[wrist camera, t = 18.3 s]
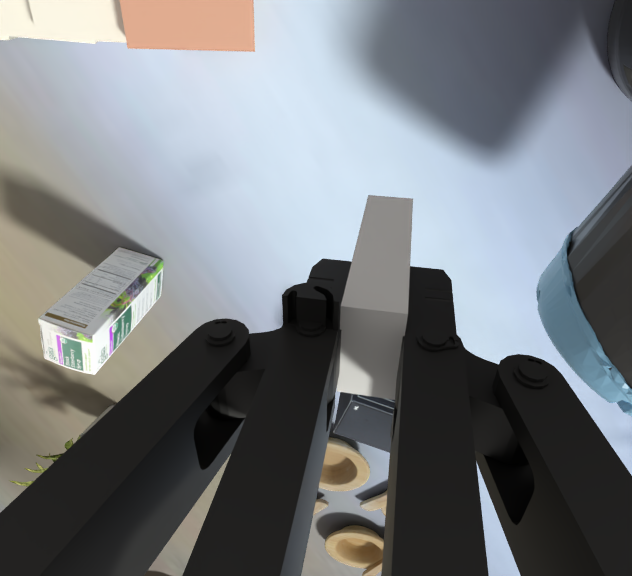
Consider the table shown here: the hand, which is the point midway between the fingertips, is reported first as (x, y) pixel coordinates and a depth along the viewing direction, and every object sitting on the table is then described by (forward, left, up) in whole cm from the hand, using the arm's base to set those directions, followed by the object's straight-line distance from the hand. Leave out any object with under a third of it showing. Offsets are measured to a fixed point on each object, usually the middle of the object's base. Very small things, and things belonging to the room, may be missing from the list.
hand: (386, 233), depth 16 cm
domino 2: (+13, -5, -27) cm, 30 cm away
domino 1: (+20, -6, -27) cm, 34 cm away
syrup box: (+30, +22, -29) cm, 47 cm away
